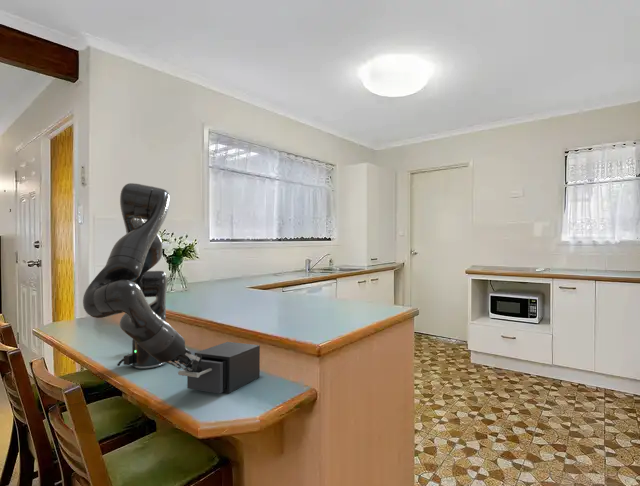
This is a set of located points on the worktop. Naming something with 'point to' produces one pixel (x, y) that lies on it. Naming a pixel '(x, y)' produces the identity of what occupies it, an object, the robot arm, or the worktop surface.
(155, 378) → the worktop surface
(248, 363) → the dark grey drawer box
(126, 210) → the robot arm
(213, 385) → the dark grey drawer
